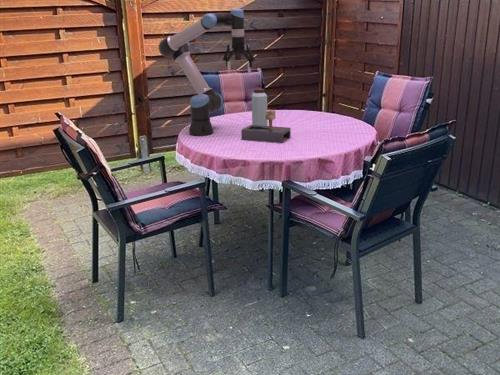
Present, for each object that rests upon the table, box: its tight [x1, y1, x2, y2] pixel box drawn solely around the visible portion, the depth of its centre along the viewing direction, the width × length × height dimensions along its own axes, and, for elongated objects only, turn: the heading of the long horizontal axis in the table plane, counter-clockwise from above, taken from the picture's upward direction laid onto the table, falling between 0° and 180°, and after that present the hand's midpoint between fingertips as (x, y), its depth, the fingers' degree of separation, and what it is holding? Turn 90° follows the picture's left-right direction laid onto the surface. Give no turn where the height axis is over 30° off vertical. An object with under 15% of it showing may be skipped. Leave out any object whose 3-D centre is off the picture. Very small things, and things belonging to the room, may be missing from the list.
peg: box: [265, 109, 276, 130], centre depth 301 cm, size 5×5×17 cm
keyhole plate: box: [240, 124, 292, 144], centre depth 304 cm, size 26×14×6 cm, turn 66°
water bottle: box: [251, 88, 269, 126], centre depth 327 cm, size 10×10×25 cm
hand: (239, 72), depth 312 cm, fingers open, 13 cm apart
